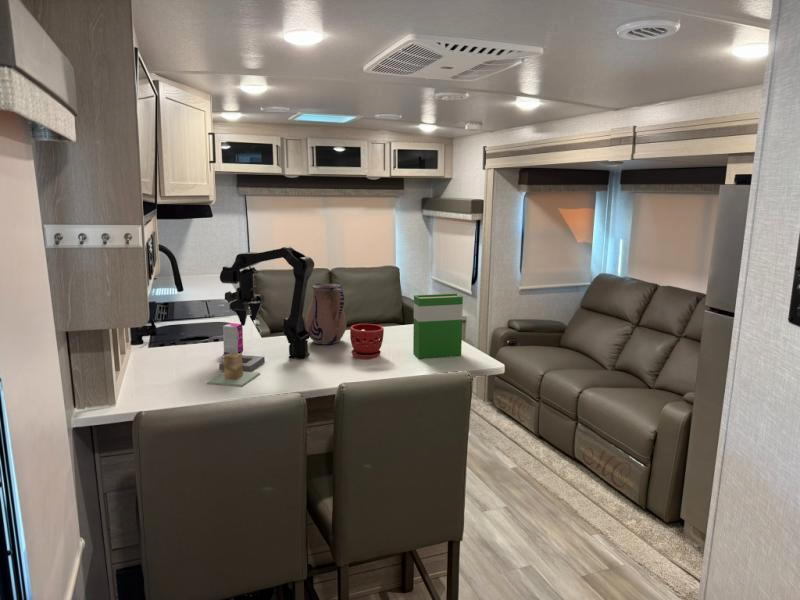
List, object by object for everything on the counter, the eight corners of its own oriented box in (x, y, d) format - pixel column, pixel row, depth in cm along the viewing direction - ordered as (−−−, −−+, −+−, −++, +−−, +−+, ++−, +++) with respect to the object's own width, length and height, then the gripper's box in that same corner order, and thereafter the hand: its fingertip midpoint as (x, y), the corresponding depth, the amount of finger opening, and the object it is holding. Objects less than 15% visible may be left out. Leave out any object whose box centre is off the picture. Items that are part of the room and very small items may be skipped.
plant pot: (363, 363, 206) (363, 332, 204) (344, 355, 216) (343, 326, 214) (390, 356, 215) (390, 327, 212) (370, 349, 224) (370, 321, 222)
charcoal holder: (264, 362, 207) (264, 356, 206) (250, 372, 195) (249, 366, 195) (235, 360, 209) (235, 354, 209) (219, 369, 198) (219, 364, 197)
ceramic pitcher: (327, 334, 248) (326, 280, 243) (361, 342, 235) (360, 285, 230) (297, 342, 235) (295, 285, 230) (331, 351, 222) (330, 290, 217)
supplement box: (237, 354, 217) (235, 326, 214) (223, 353, 218) (221, 325, 216) (244, 350, 222) (242, 323, 220) (230, 349, 223) (229, 322, 221)
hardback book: (454, 351, 223) (456, 293, 218) (461, 356, 216) (462, 296, 211) (413, 354, 218) (413, 295, 214) (418, 359, 211) (419, 298, 207)
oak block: (243, 375, 190) (241, 353, 188) (236, 379, 185) (235, 357, 184) (231, 374, 190) (229, 352, 189) (224, 378, 186) (223, 356, 185)
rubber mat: (259, 374, 193) (259, 372, 193) (242, 386, 180) (242, 384, 180) (226, 371, 196) (226, 370, 195) (206, 383, 183) (206, 382, 183)
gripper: (239, 280, 226) (241, 317, 229) (215, 287, 208) (218, 327, 211) (264, 281, 224) (265, 318, 227) (242, 288, 206) (244, 328, 209)
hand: (248, 322), depth 218 cm, fingers open, 9 cm apart
